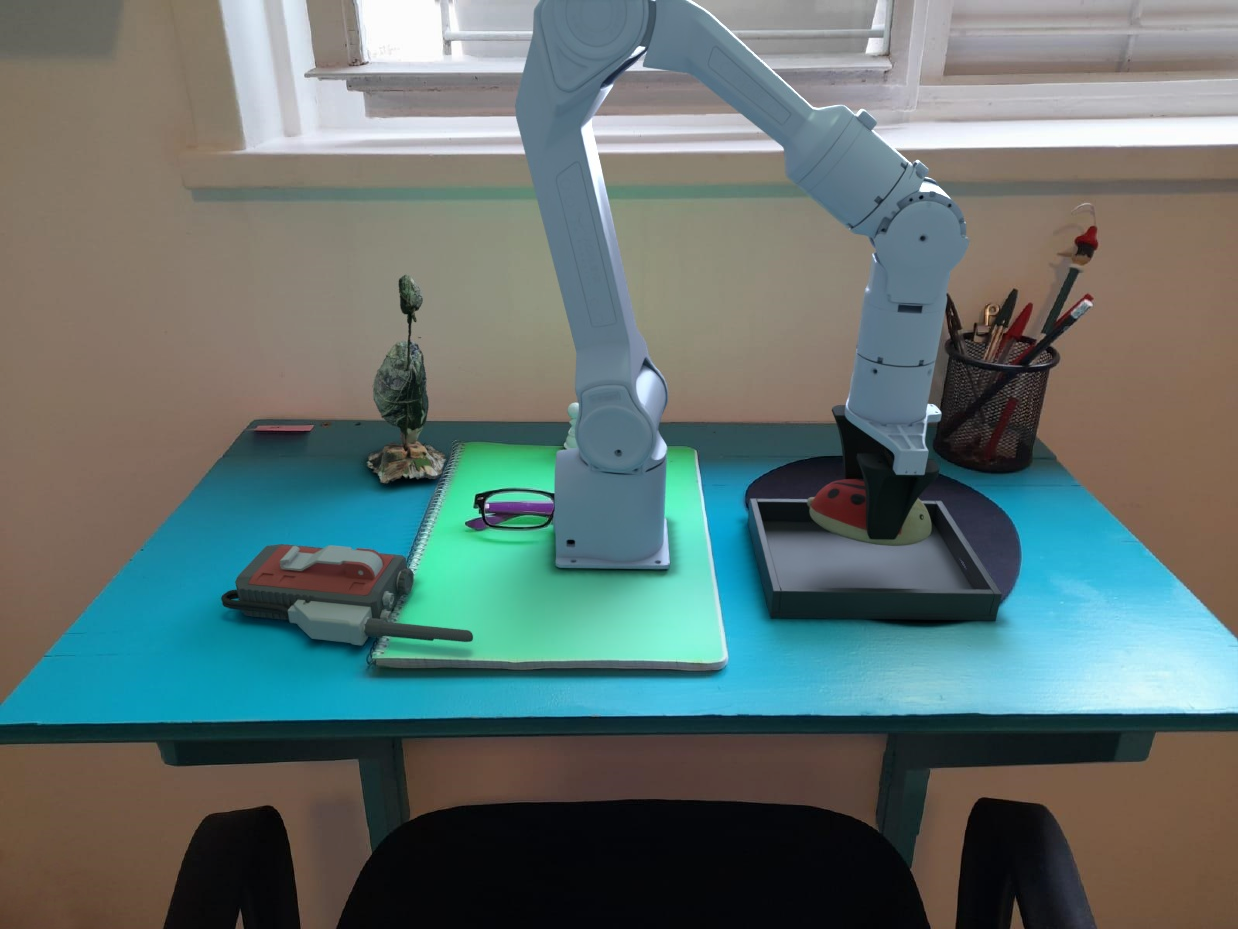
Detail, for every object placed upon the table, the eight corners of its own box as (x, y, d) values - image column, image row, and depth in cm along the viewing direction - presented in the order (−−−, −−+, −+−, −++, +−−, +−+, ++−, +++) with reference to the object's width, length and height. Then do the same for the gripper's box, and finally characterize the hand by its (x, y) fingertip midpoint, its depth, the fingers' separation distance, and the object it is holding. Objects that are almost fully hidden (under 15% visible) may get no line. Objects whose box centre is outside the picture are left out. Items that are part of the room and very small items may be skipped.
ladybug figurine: (929, 559, 67) (937, 520, 65) (799, 537, 69) (804, 498, 68) (929, 517, 72) (937, 480, 71) (810, 498, 75) (814, 462, 73)
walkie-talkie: (207, 634, 64) (469, 662, 61) (194, 584, 62) (465, 612, 59) (267, 567, 72) (502, 590, 69) (257, 522, 70) (499, 543, 67)
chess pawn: (583, 454, 90) (582, 410, 88) (559, 449, 91) (558, 405, 89) (595, 443, 93) (595, 400, 90) (571, 438, 94) (570, 396, 91)
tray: (770, 618, 66) (773, 591, 65) (747, 522, 79) (749, 498, 78) (995, 620, 66) (1002, 594, 65) (936, 524, 79) (941, 500, 78)
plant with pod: (452, 438, 94) (436, 253, 85) (443, 488, 84) (423, 285, 75) (376, 440, 93) (351, 254, 84) (357, 491, 83) (327, 286, 74)
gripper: (986, 391, 58) (948, 563, 64) (920, 323, 70) (894, 471, 77) (879, 390, 58) (852, 562, 64) (833, 322, 70) (814, 470, 77)
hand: (869, 512), depth 70 cm, fingers closed on ladybug figurine, 7 cm apart
